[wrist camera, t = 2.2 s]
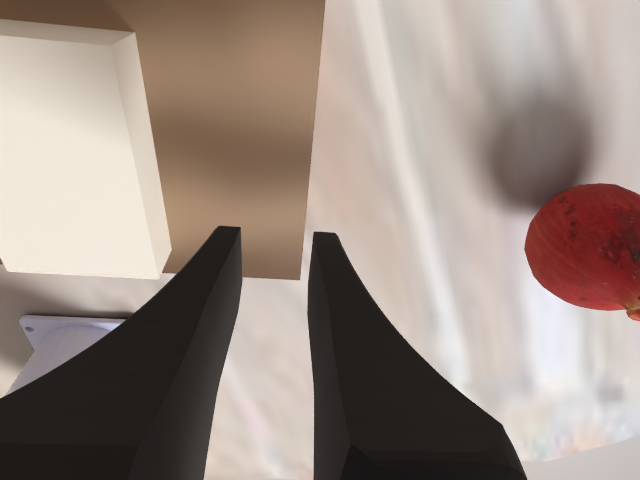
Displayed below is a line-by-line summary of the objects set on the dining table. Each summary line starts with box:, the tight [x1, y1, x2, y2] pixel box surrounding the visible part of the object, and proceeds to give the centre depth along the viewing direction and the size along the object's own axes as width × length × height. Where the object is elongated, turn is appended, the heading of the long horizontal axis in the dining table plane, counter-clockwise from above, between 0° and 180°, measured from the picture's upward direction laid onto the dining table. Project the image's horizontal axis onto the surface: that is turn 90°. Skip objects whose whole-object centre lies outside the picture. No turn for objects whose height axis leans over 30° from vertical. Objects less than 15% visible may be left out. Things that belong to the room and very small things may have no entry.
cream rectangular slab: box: [0, 19, 172, 279], centre depth 14 cm, size 9×6×2 cm, turn 174°
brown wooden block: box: [0, 0, 325, 280], centre depth 17 cm, size 12×20×4 cm, turn 84°
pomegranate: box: [524, 183, 640, 321], centre depth 19 cm, size 6×6×8 cm
